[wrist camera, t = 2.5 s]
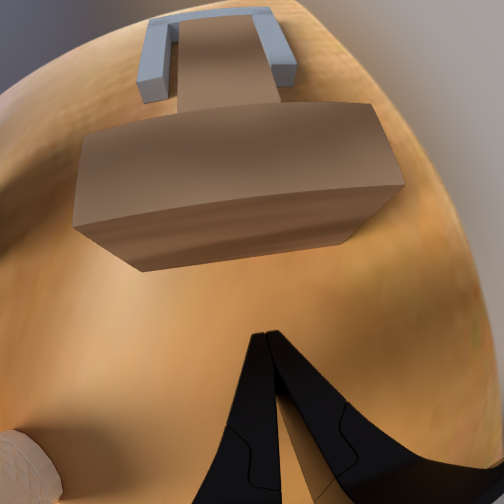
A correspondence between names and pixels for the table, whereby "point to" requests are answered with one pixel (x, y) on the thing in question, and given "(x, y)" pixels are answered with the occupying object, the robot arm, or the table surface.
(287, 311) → the table surface
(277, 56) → the frame
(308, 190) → the walnut T block
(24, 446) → the white cup
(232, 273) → the table surface
